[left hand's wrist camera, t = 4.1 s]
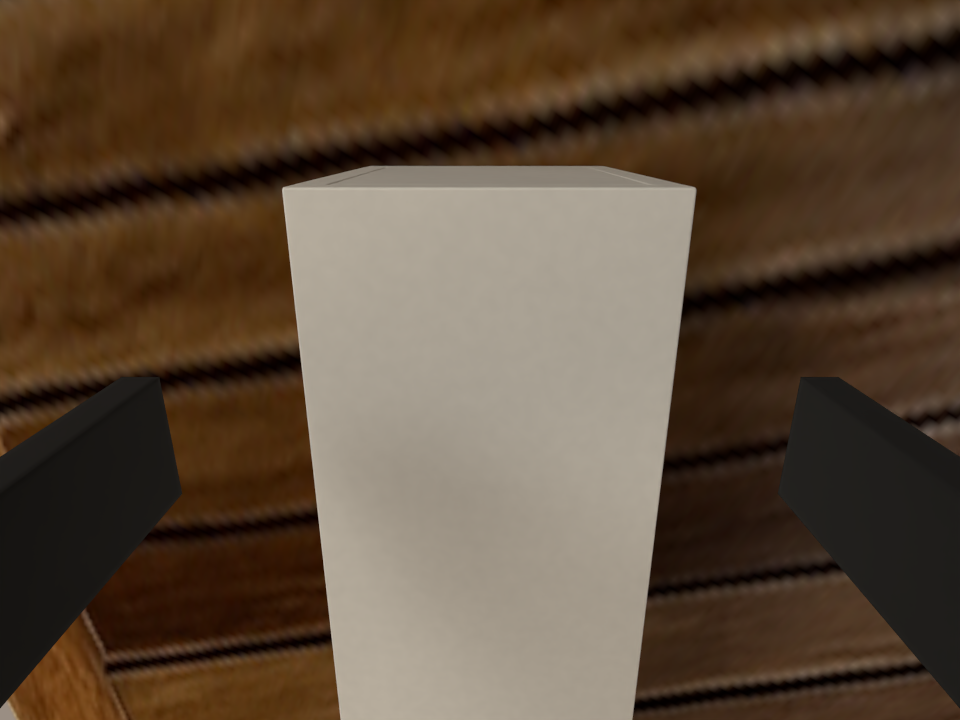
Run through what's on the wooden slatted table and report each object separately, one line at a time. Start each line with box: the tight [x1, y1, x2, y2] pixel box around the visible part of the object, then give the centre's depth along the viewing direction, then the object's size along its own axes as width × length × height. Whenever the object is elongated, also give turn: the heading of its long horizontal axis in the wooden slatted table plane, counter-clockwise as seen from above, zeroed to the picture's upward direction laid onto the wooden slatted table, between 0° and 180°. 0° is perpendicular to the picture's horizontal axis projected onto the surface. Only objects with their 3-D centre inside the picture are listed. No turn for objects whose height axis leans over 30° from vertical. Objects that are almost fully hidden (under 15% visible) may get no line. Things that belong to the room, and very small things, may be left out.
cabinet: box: [282, 166, 696, 720], centre depth 24 cm, size 22×10×12 cm, turn 0°
